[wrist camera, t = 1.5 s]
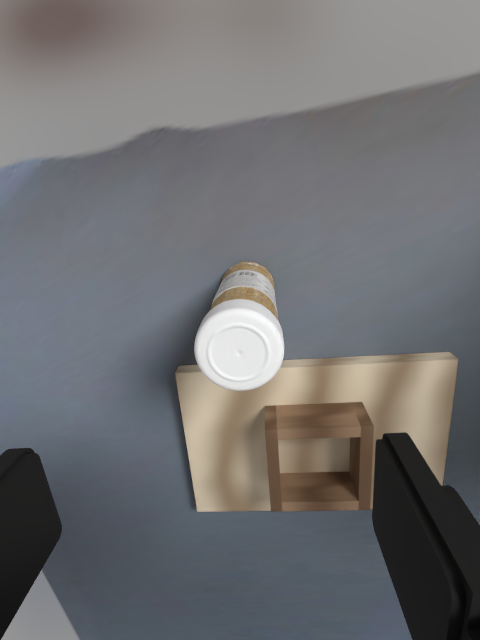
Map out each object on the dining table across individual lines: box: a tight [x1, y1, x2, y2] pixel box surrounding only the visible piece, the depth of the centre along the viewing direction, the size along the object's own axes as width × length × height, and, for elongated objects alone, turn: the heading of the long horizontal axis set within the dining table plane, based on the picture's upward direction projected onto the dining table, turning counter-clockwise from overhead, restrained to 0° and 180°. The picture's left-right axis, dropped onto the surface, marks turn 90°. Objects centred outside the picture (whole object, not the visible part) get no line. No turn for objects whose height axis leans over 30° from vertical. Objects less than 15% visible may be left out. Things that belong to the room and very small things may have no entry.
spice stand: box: [175, 352, 458, 512], centre depth 32 cm, size 24×16×5 cm, turn 95°
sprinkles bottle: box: [194, 262, 284, 391], centre depth 24 cm, size 5×5×14 cm
